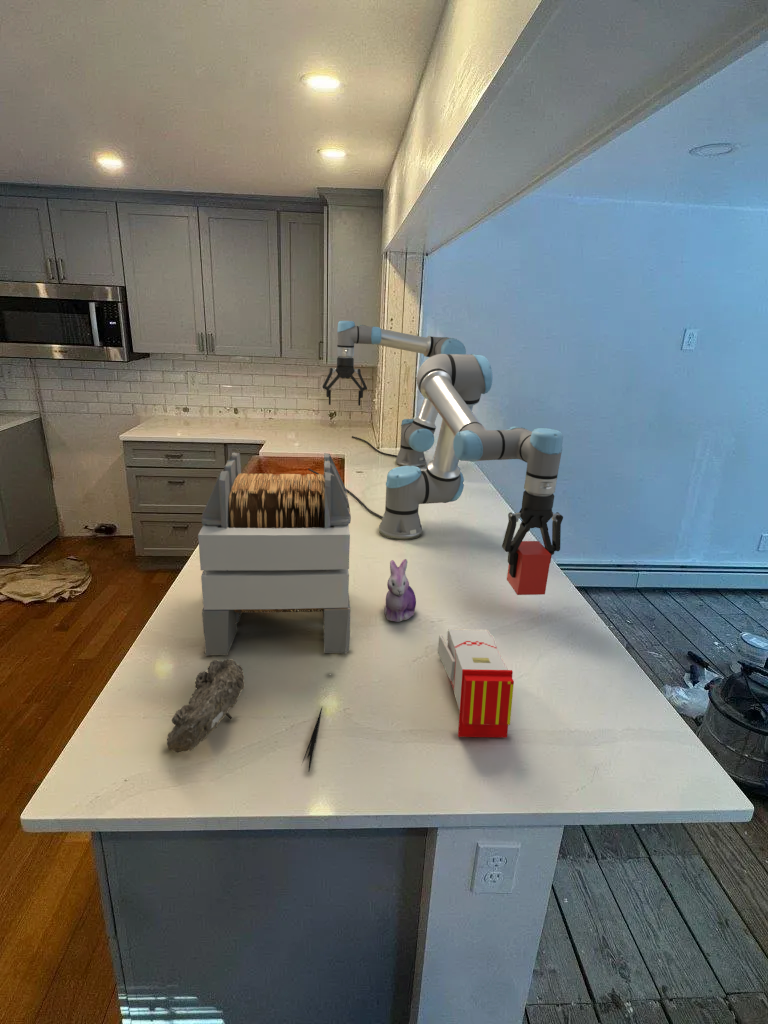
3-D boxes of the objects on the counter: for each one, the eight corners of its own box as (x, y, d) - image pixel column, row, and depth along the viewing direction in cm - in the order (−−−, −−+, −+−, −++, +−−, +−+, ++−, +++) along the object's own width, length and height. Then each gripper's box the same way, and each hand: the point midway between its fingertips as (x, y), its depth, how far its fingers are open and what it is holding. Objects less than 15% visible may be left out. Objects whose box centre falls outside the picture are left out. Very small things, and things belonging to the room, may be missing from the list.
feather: (331, 679, 122) (336, 673, 122) (307, 777, 96) (313, 769, 95) (324, 675, 122) (329, 669, 121) (298, 772, 95) (304, 764, 95)
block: (517, 595, 145) (523, 554, 141) (506, 579, 153) (511, 541, 149) (544, 594, 146) (551, 554, 142) (532, 579, 154) (538, 540, 150)
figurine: (392, 627, 141) (395, 572, 136) (374, 608, 149) (376, 556, 144) (425, 619, 145) (429, 566, 140) (405, 601, 154) (408, 550, 149)
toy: (488, 613, 130) (523, 677, 101) (484, 667, 133) (517, 744, 104) (435, 612, 130) (455, 676, 101) (432, 666, 133) (451, 743, 103)
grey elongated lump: (192, 660, 117) (244, 628, 112) (224, 691, 120) (276, 661, 115) (142, 746, 98) (202, 712, 93) (182, 779, 101) (242, 748, 96)
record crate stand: (226, 586, 157) (217, 442, 143) (344, 585, 161) (346, 445, 147) (202, 658, 125) (189, 482, 112) (350, 654, 129) (354, 483, 115)
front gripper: (504, 496, 136) (493, 582, 143) (584, 496, 138) (569, 580, 146) (495, 487, 143) (485, 569, 150) (571, 487, 145) (558, 568, 153)
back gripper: (317, 356, 248) (317, 405, 256) (374, 358, 252) (372, 406, 259) (317, 355, 255) (317, 402, 263) (372, 357, 259) (370, 404, 266)
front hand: (527, 574), depth 148 cm, fingers closed on block, 7 cm apart
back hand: (344, 404), depth 261 cm, fingers open, 13 cm apart
